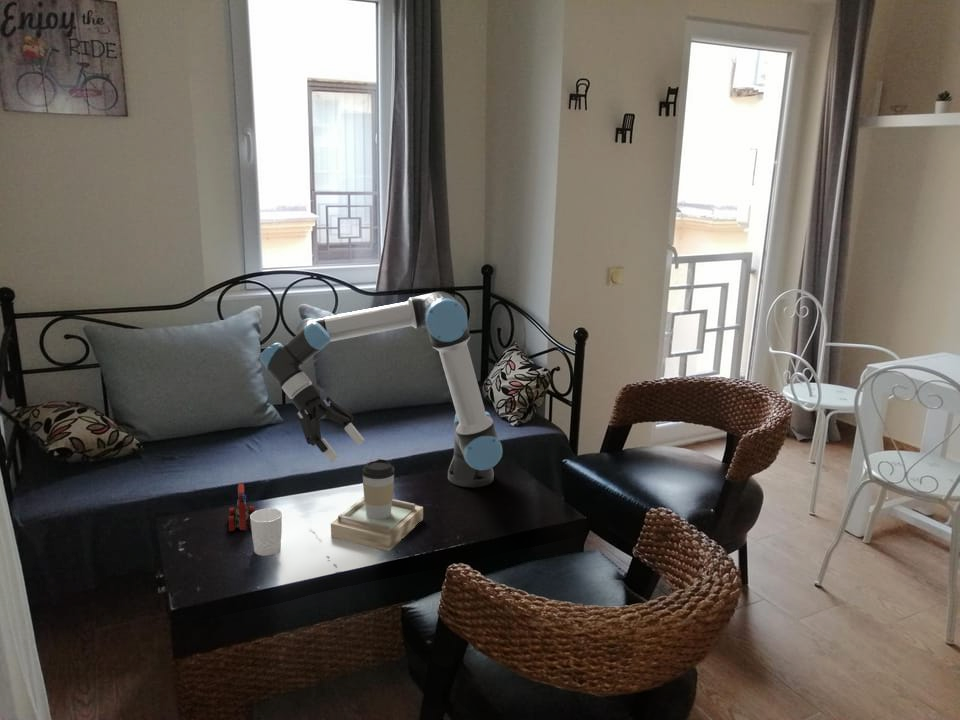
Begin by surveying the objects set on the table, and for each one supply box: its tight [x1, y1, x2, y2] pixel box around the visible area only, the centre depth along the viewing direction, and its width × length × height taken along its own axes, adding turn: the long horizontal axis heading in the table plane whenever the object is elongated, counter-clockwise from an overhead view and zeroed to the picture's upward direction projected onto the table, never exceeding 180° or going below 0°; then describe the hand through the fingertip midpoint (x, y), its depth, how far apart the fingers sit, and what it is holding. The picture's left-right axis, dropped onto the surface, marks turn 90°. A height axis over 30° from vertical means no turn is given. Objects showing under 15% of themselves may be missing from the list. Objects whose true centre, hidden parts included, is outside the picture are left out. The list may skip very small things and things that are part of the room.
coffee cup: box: [361, 458, 396, 519], centre depth 200 cm, size 9×9×15 cm
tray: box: [330, 496, 424, 552], centre depth 202 cm, size 20×18×6 cm
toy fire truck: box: [228, 483, 256, 532], centre depth 201 cm, size 7×12×10 cm, turn 18°
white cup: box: [250, 507, 283, 557], centre depth 188 cm, size 8×8×10 cm
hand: (348, 451), depth 201 cm, fingers open, 13 cm apart
